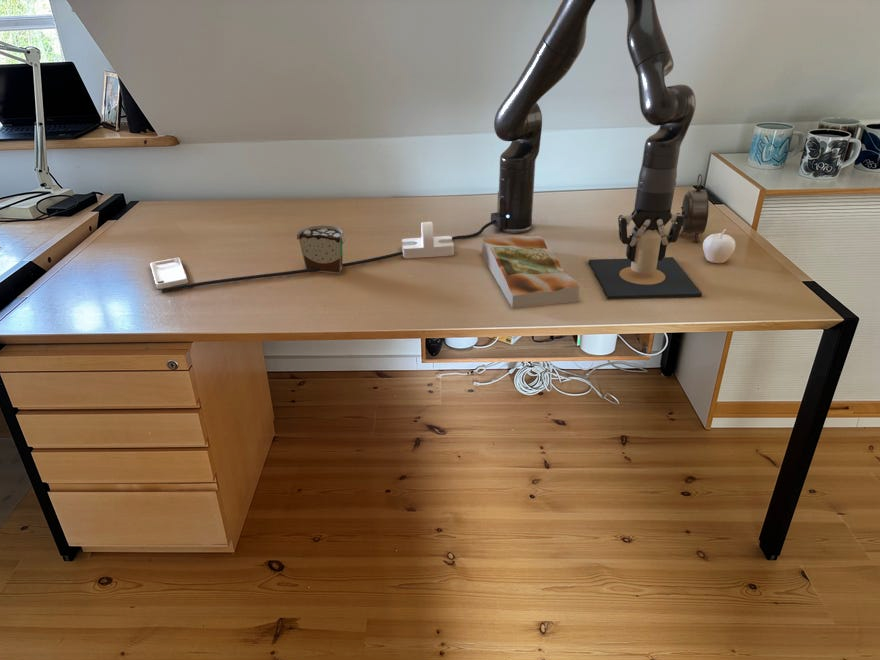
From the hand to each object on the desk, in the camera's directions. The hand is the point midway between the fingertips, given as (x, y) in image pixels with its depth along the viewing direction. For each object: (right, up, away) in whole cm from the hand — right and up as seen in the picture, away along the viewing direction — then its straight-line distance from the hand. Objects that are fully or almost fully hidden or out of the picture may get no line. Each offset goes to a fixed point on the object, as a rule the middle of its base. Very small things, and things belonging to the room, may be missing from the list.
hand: (644, 259), depth 151 cm
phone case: (-113, -2, +17) cm, 115 cm away
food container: (-73, 0, +16) cm, 75 cm away
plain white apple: (+20, +1, +9) cm, 22 cm away
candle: (0, -2, +1) cm, 2 cm away
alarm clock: (+20, +9, +23) cm, 32 cm away
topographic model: (-26, -3, +6) cm, 27 cm away
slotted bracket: (-48, +5, +22) cm, 53 cm away
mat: (0, -4, +2) cm, 5 cm away
